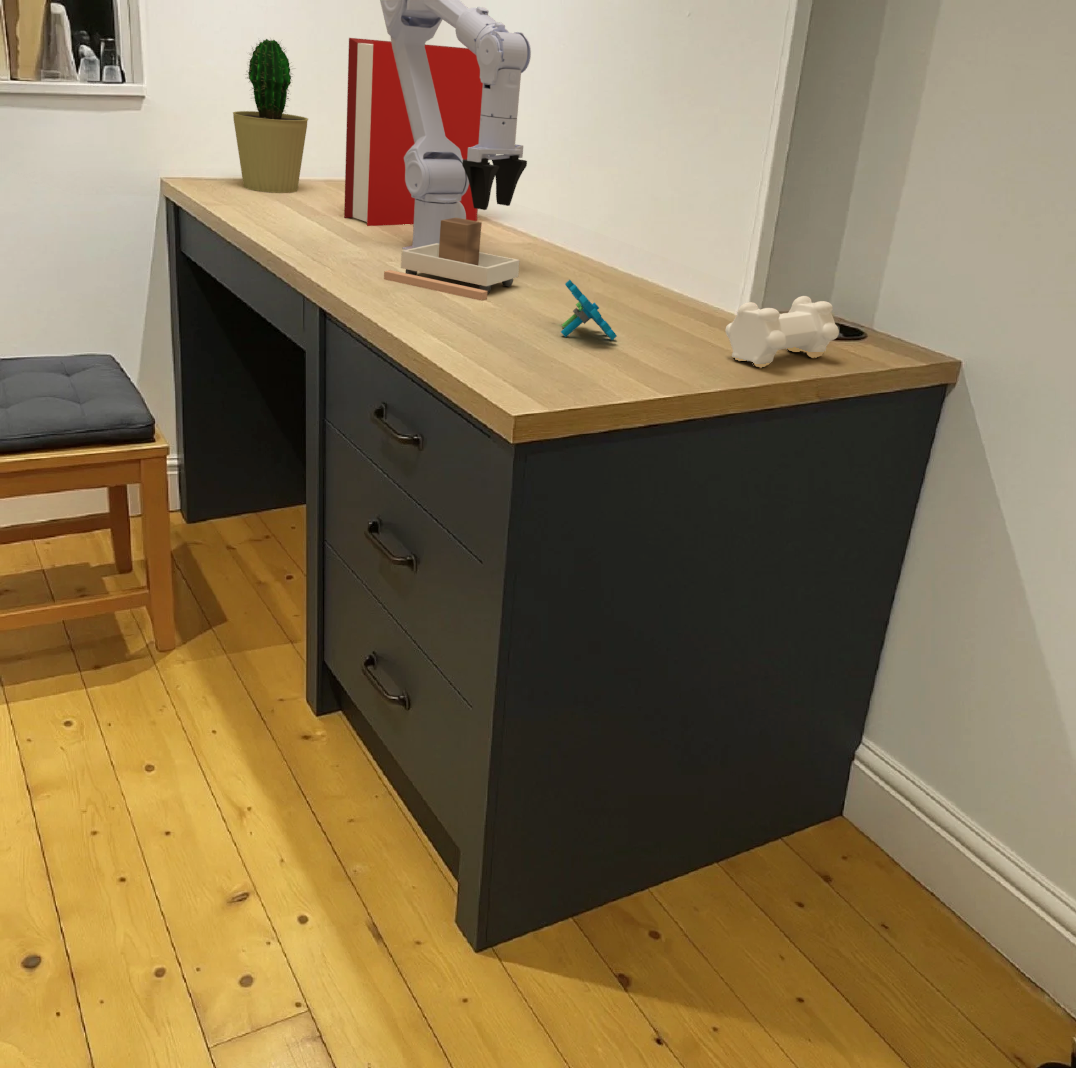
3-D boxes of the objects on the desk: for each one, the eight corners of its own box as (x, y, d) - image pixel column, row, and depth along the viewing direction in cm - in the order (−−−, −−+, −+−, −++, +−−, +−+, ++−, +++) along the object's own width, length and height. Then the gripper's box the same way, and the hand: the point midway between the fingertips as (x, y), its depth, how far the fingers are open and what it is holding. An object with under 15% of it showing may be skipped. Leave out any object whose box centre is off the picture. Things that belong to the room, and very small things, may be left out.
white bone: (787, 350, 157) (793, 292, 154) (839, 361, 151) (846, 300, 148) (718, 361, 147) (724, 300, 144) (770, 373, 141) (777, 309, 138)
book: (367, 226, 209) (373, 41, 195) (344, 218, 214) (348, 37, 201) (480, 221, 226) (493, 51, 212) (456, 214, 231) (467, 48, 218)
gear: (626, 338, 144) (578, 278, 141) (591, 368, 145) (542, 309, 142) (612, 328, 155) (567, 272, 152) (580, 356, 155) (534, 301, 153)
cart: (434, 268, 177) (436, 243, 176) (517, 285, 172) (519, 259, 170) (400, 277, 169) (401, 250, 167) (485, 295, 163) (487, 268, 162)
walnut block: (452, 263, 172) (456, 217, 170) (478, 268, 171) (481, 222, 168) (437, 267, 169) (440, 220, 166) (463, 272, 167) (466, 225, 164)
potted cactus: (322, 193, 238) (324, 41, 226) (260, 195, 228) (259, 36, 215) (280, 181, 248) (280, 35, 235) (219, 183, 237) (216, 30, 225)
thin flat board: (460, 262, 186) (460, 253, 185) (550, 281, 179) (551, 271, 179) (383, 281, 167) (384, 271, 166) (481, 303, 161) (482, 292, 160)
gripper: (499, 120, 164) (491, 214, 169) (542, 118, 176) (534, 206, 181) (458, 114, 166) (452, 207, 172) (504, 113, 178) (497, 200, 184)
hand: (492, 206), depth 177 cm, fingers open, 7 cm apart
